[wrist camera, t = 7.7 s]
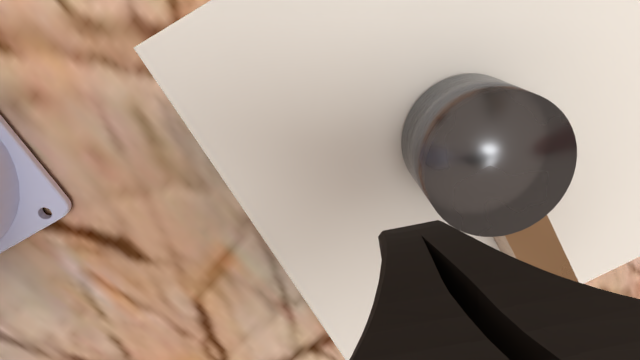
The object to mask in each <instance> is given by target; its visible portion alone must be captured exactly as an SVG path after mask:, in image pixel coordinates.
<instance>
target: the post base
mask: <svg viewBox="0 0 640 360" xmlns="http://www.w3.org/2000/svg"><path fill="white" fill-rule="evenodd" d="M134 49H135V51H136V52H137V54H138V55H139V57H140V58H141V60H142V61H143V63H144V64H145V65H146V67H147V68H148V70H149V71H150V73H151V74H152V76H153V77H154V79H155V80H156V82H157V83H158V85H159V86H160V88H161V89H162V90H163V92H164V93H165V95H166V96H167V98H168V99H169V101H170V102H171V104H172V105H173V107H174V108H175V110H176V111H177V113H178V114H179V115H180V117H181V118H182V120H183V121H184V123H185V124H186V126H187V127H188V129H189V130H190V132H191V133H192V135H193V136H194V138H195V139H196V140H197V142H198V143H199V145H200V146H201V148H202V149H203V151H204V152H205V154H206V155H207V157H208V158H209V160H210V161H211V163H212V164H213V166H214V167H215V168H216V170H217V171H218V173H219V174H220V176H221V177H222V179H223V180H224V182H225V183H226V185H227V186H228V188H229V189H230V191H231V192H232V193H233V195H234V196H235V198H236V199H237V201H238V202H239V204H240V205H241V207H242V208H243V210H244V211H245V213H246V214H247V216H248V217H249V218H250V220H251V221H252V223H253V224H254V226H255V227H256V229H257V230H258V232H259V233H260V235H261V236H262V238H263V239H264V241H265V242H266V243H267V245H268V246H269V248H270V249H271V251H272V252H273V254H274V255H275V257H276V258H277V260H278V261H279V263H280V264H281V266H282V267H283V268H284V270H285V271H286V273H287V274H288V276H289V277H290V279H291V280H292V282H293V283H294V285H295V286H296V288H297V289H298V291H299V292H300V294H301V295H302V296H303V298H304V299H305V301H306V302H307V304H308V305H309V307H310V308H311V310H312V311H313V313H314V314H315V316H316V317H317V319H318V320H319V321H320V323H321V324H322V326H323V327H324V329H325V330H326V332H327V333H328V335H329V336H330V338H331V339H332V341H333V342H334V344H335V345H336V346H337V348H338V349H339V351H340V352H341V354H342V355H343V357H344V358H345V360H349V359H350V358H351V356H352V354H353V352H354V350H355V348H356V346H357V344H358V341H359V339H360V337H361V335H362V333H363V331H364V328H365V325H366V323H367V320H368V318H369V315H370V312H371V309H372V306H373V302H374V298H375V294H376V290H377V286H378V282H379V276H380V269H381V261H382V259H381V253H380V246H379V240H378V236H379V235H380V233H381V232H382V231H384V230H389V229H395V228H400V227H405V226H410V225H415V224H420V223H426V222H431V221H436V220H439V221H442V222H444V223H446V224H448V223H447V222H446V221H445V220H443V219H442V218H441V216H440V215H439V214H438V213H437V212H436V210H435V209H434V207H433V206H432V204H431V203H430V202H429V200H428V199H427V197H426V196H425V194H424V193H423V191H422V190H421V189H420V187H419V186H418V184H417V183H416V181H415V180H414V178H413V177H412V175H411V174H410V172H409V171H408V169H407V167H406V165H405V162H404V159H403V155H402V149H401V138H402V131H403V127H404V123H405V121H406V118H407V115H408V114H409V112H410V110H411V108H412V107H413V105H414V104H415V102H416V101H417V100H418V99H419V98H420V96H421V95H422V94H423V93H425V92H426V91H427V90H428V89H429V88H431V87H432V86H433V85H435V84H436V83H438V82H440V81H442V80H444V79H447V78H449V77H452V76H456V75H460V74H468V73H476V74H484V75H489V76H492V77H495V78H497V79H500V80H502V81H505V82H507V83H510V84H512V85H515V86H517V87H520V88H522V89H525V90H527V91H530V92H532V93H535V94H537V95H540V96H542V97H544V98H546V99H548V100H549V101H551V102H552V103H553V104H555V105H556V106H557V107H558V108H559V109H560V110H561V111H562V112H563V113H564V115H565V116H566V117H567V119H568V120H569V122H570V124H571V126H572V128H573V131H574V134H575V138H576V144H577V161H576V167H575V172H574V175H573V178H572V181H571V183H570V185H569V187H568V189H567V191H566V193H565V194H564V196H563V197H562V199H561V200H560V202H559V203H558V204H557V205H556V206H555V208H554V209H553V210H552V211H550V212H549V213H548V214H547V216H548V218H549V220H550V222H551V224H552V226H553V228H554V231H555V233H556V235H557V237H558V239H559V241H560V243H561V245H562V248H563V250H564V252H565V254H566V256H567V258H568V260H569V262H570V265H571V267H572V269H573V271H574V273H575V275H576V277H577V279H578V282H579V283H582V284H584V283H586V282H588V281H590V280H592V279H594V278H596V277H599V276H601V275H603V274H605V273H607V272H609V271H611V270H613V269H615V268H617V267H619V266H621V265H623V264H625V263H627V262H630V261H632V260H634V259H636V258H638V257H640V0H210V1H209V2H207V3H206V4H204V5H202V6H201V7H199V8H197V9H196V10H194V11H193V12H191V13H189V14H188V15H186V16H184V17H183V18H181V19H179V20H178V21H176V22H175V23H173V24H171V25H170V26H168V27H166V28H165V29H163V30H162V31H160V32H158V33H157V34H155V35H153V36H152V37H150V38H148V39H147V40H145V41H144V42H142V43H140V44H139V45H137V46H135V47H134ZM448 225H449V224H448ZM450 226H451V225H450ZM452 227H453V226H452ZM461 232H462V231H461ZM463 233H464V232H463ZM465 234H467V233H465ZM467 235H469V236H471V237H473V238H475V239H477V240H479V241H481V242H483V243H485V244H487V245H489V246H491V247H493V248H495V249H497V250H499V251H500V249H499V247H498V246H497V244H496V242H495V240H494V238H493V237H482V236H475V235H471V234H467Z"/></svg>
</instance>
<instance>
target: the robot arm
mask: <svg viewBox="0 0 640 360" xmlns="http://www.w3.org/2000/svg"><path fill="white" fill-rule="evenodd" d="M43 207H45V208H48V209H49V210H51V213H52V215H47V214H45V213H44V211H43ZM70 210H71V201H70V200H69V198H68V197H67V196H66V194H65V193H64V192H63V191H62V189H61V188H60V187H59V186H58V185H57V183H56V182H55V181H54V180H53V178H52V177H51V176H50V175H49V174H48V172H47V171H46V170H45V169H44V167H43V166H42V165H41V164H40V163H39V161H38V160H37V159H36V158H35V156H34V155H33V154H32V153H31V152H30V150H29V149H28V148H27V147H26V145H25V144H24V143H23V142H22V141H21V139H20V138H19V137H18V136H17V134H16V133H15V132H14V131H13V130H12V128H11V127H10V126H9V125H8V123H7V122H6V121H5V120H4V119H3V117H2V116H1V115H0V253H2V252H4V251H5V250H7V249H9V248H11V247H12V246H14V245H16V244H18V243H19V242H21V241H23V240H24V239H26V238H28V237H30V236H31V235H33V234H35V233H37V232H38V231H40V230H42V229H44V228H45V227H47V226H49V225H51V224H52V223H54V222H56V221H57V220H59V219H61V218H63V217H64V216H65V215H66V214H67V213H68V212H69V211H70ZM378 240H379V246H380V253H381V259H382V261H381V269H380V276H379V282H378V286H377V290H376V294H375V298H374V302H373V306H372V309H371V312H370V315H369V318H368V320H367V323H366V325H365V328H364V331H363V333H362V335H361V337H360V339H359V341H358V344H357V346H356V348H355V350H354V352H353V354H352V356H351V358H350V359H349V360H640V299H636V298H632V297H628V296H624V295H620V294H616V293H612V292H609V291H605V290H601V289H598V288H594V287H591V286H588V285H585V284H582V283H579V282H576V281H573V280H570V279H567V278H564V277H561V276H558V275H555V274H553V273H550V272H547V271H545V270H542V269H540V268H537V267H535V266H533V265H530V264H528V263H525V262H523V261H521V260H518V259H516V258H514V257H512V256H509V255H507V254H505V253H503V252H501V251H499V250H497V249H495V248H493V247H491V246H489V245H487V244H485V243H483V242H481V241H479V240H477V239H475V238H473V237H471V236H469V235H467V234H465V233H463V232H461V231H460V230H458V229H456V228H454V227H452V226H450V225H448V224H446V223H444V222H442V221H439V220H436V221H431V222H426V223H420V224H415V225H410V226H405V227H400V228H395V229H389V230H384V231H382V232H381V233H380V235H379V236H378Z"/></svg>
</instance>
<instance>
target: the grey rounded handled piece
mask: <svg viewBox="0 0 640 360" xmlns="http://www.w3.org/2000/svg"><path fill="white" fill-rule="evenodd" d="M401 149H402V155H403V159H404V162H405V165H406V167H407V169H408V171H409V172H410V174H411V175H412V177H413V178H414V180H415V181H416V183H417V184H418V186H419V187H420V189H421V190H422V191H423V193H424V194H425V196H426V197H427V199H428V200H429V202H430V203H431V204H432V206H433V207H434V209H435V210H436V212H437V213H438V214H439V215H440V216H441V218H442V219H443V220H445V221H446V222H447V223H448V224H449V225H451V226H453V227H454V228H456V229H458V230H460V231H462V232H464V233H467V234H471V235H475V236H482V237H493V238H494V240H495V242H496V244H497V246H498V247H499V249H500V251H501V252H503V253H505V254H507V255H509V256H512V257H514V258H516V259H518V260H521V261H523V262H525V263H528V264H530V265H533V266H535V267H537V268H540V269H542V270H545V271H547V272H550V273H553V274H555V275H558V276H561V277H564V278H567V279H570V280H573V281H576V282H578V279H577V277H576V275H575V273H574V271H573V269H572V267H571V265H570V262H569V260H568V258H567V256H566V254H565V252H564V250H563V248H562V245H561V243H560V241H559V239H558V237H557V235H556V233H555V231H554V228H553V226H552V224H551V222H550V220H549V218H548V216H547V214H548V213H549V212H550V211H552V210H553V209H554V208H555V206H556V205H557V204H558V203H559V202H560V200H561V199H562V197H563V196H564V194H565V193H566V191H567V189H568V187H569V185H570V183H571V181H572V178H573V175H574V172H575V167H576V161H577V144H576V138H575V134H574V131H573V128H572V126H571V124H570V122H569V120H568V119H567V117H566V116H565V115H564V113H563V112H562V111H561V110H560V109H559V108H558V107H557V106H556V105H555V104H553V103H552V102H551V101H549V100H548V99H546V98H544V97H542V96H540V95H537V94H535V93H532V92H530V91H527V90H525V89H522V88H520V87H517V86H515V85H512V84H510V83H507V82H505V81H502V80H500V79H497V78H495V77H492V76H489V75H484V74H476V73H468V74H460V75H456V76H452V77H449V78H447V79H444V80H442V81H440V82H438V83H436V84H435V85H433V86H432V87H431V88H429V89H428V90H427V91H426V92H425V93H423V94H422V95H421V96H420V98H419V99H418V100H417V101H416V102H415V104H414V105H413V107H412V108H411V110H410V112H409V114H408V115H407V118H406V121H405V123H404V127H403V131H402V138H401Z"/></svg>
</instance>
